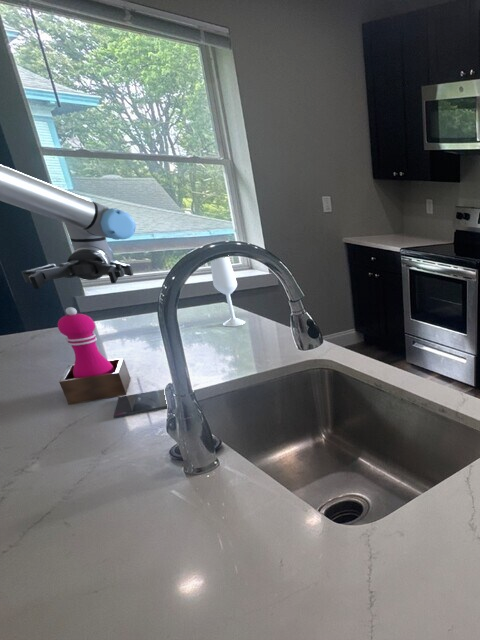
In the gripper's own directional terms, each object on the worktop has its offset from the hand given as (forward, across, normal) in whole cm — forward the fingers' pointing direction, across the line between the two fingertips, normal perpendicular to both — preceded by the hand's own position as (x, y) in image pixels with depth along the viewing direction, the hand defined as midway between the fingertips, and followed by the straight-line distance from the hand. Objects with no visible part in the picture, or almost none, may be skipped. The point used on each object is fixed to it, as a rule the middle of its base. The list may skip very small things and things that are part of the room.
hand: (74, 280), depth 108 cm
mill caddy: (+12, 0, -23) cm, 26 cm away
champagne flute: (-30, -30, -24) cm, 49 cm away
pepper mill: (+12, 0, -24) cm, 26 cm away
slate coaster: (+24, -9, -23) cm, 34 cm away
